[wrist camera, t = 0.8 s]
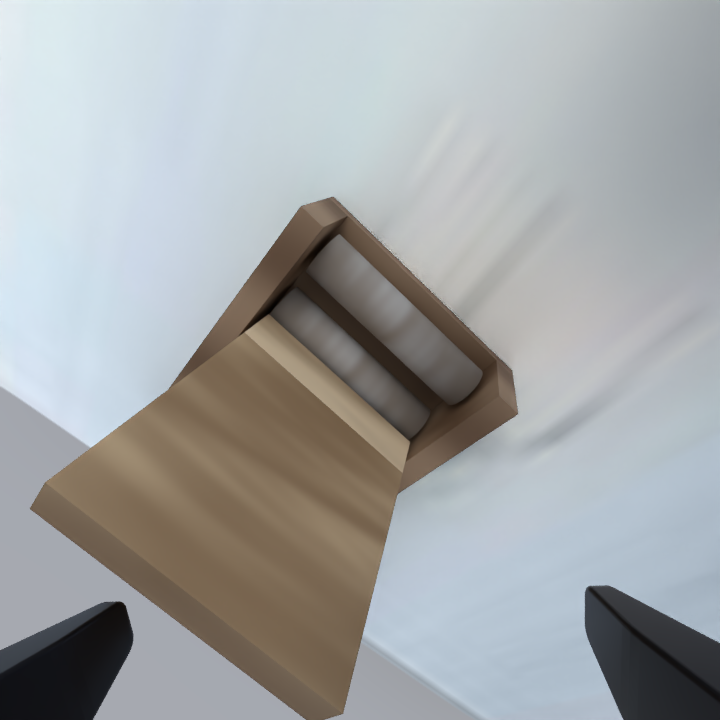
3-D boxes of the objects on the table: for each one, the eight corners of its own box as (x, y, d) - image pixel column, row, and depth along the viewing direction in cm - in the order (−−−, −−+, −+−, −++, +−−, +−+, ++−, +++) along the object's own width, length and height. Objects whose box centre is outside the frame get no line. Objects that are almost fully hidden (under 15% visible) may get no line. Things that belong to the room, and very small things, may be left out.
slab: (268, 313, 17) (45, 482, 8) (410, 442, 18) (342, 713, 9) (201, 397, 20) (-16, 586, 11) (326, 503, 21) (215, 754, 12)
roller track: (333, 196, 17) (275, 213, 12) (512, 370, 18) (522, 447, 14) (163, 419, 25) (89, 481, 20) (295, 529, 27) (254, 611, 22)
